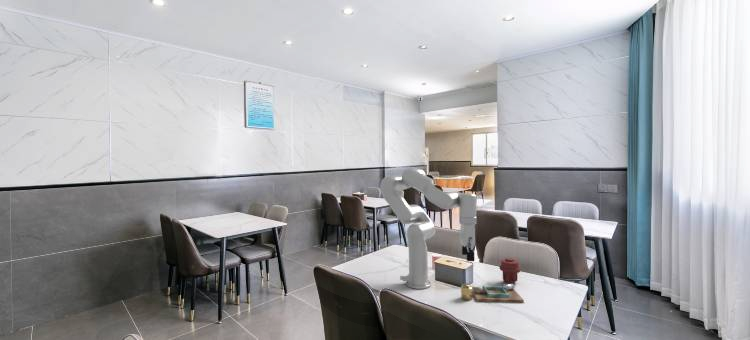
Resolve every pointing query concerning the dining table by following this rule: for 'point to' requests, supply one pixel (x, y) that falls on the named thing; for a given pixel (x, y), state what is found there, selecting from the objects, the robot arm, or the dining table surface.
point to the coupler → (466, 292)
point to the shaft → (508, 287)
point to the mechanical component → (510, 270)
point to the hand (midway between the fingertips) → (468, 257)
